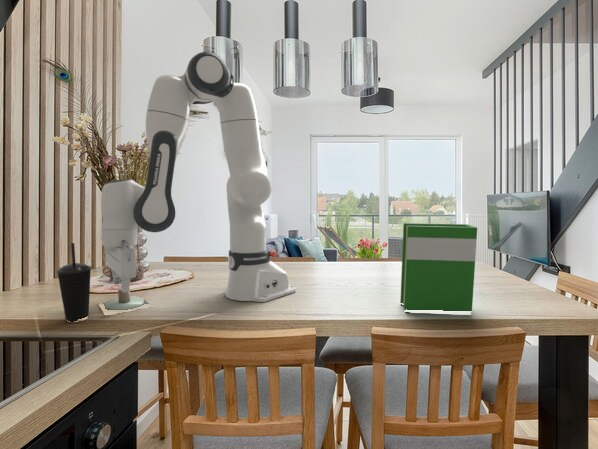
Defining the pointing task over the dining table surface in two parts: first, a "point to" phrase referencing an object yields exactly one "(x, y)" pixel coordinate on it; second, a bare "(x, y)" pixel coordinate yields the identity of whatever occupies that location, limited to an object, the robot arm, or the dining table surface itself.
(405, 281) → the hardback book
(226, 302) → the dining table surface
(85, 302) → the drinking cup
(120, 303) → the lid
